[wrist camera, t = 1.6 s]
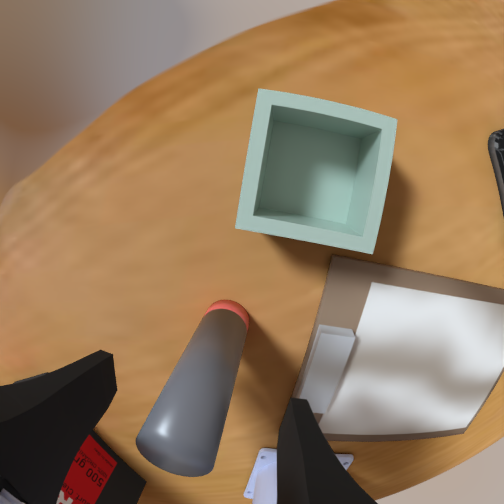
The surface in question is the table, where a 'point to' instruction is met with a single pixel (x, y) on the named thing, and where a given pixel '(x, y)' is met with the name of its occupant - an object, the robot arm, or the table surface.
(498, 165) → the phone
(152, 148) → the table surface
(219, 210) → the table surface
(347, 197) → the box
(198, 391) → the marker
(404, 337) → the clipboard
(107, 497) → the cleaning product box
